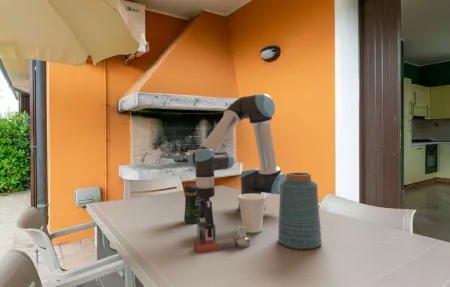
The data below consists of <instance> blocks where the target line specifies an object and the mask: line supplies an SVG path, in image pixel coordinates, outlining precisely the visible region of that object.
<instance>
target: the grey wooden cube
mask: <svg viewBox="0 0 450 287" xmlns="http://www.w3.org/2000/svg"><path fill="white" fill-rule="evenodd" d="M210 225H211V224H210ZM204 227H206V222H197V223H196V234H197V235H196V237H197V240H198V242H199V241H206V229H204ZM216 233H217V232H216V225H215V224H214V228H213V240H217V239H216Z"/></svg>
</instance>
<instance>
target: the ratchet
mask: <svg viewBox="0 0 450 287" xmlns="http://www.w3.org/2000/svg"><path fill="white" fill-rule="evenodd" d="M236 229H237V230H236V231H237V234H236V235H234V237H233V238H232V237H231V238H226V239H225V238H223V239H216V240H207V241H199V240H198V241H194V242H193V243H194V244H193V249H194V252H195V253H196V254H199V253H207V252H215V251H217V252H218V251H222V250H230V249H236V248H237V249H247V248H249V247H250V246H251V240H250V239H251V238H250V237H251V236H249V235H247V233H246V227H245V226H242V225H237V226H236Z"/></svg>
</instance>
